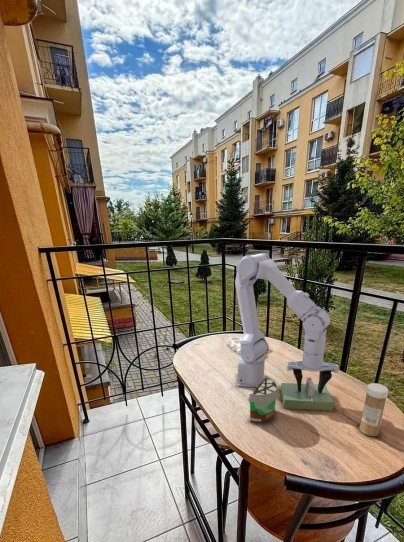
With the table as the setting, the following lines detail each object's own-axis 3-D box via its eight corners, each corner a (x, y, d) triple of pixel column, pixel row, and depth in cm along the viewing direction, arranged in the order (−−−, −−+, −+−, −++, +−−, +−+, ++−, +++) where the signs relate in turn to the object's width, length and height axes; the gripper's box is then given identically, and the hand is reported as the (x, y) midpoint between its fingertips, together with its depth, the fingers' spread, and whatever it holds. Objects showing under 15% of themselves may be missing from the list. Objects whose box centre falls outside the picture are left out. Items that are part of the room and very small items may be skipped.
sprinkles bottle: (382, 432, 74) (392, 388, 69) (373, 439, 71) (383, 394, 67) (364, 423, 77) (373, 380, 72) (355, 429, 75) (363, 386, 70)
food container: (269, 432, 75) (271, 400, 72) (248, 425, 79) (248, 394, 75) (283, 408, 85) (285, 379, 82) (263, 402, 88) (265, 374, 85)
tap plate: (283, 408, 85) (284, 399, 84) (280, 390, 94) (281, 382, 93) (332, 411, 83) (334, 402, 82) (324, 392, 92) (325, 384, 91)
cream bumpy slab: (272, 351, 124) (246, 360, 117) (246, 339, 138) (222, 346, 132) (272, 344, 123) (246, 352, 116) (246, 333, 137) (221, 339, 130)
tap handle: (313, 396, 85) (314, 385, 83) (308, 396, 85) (309, 385, 84) (310, 387, 90) (311, 377, 88) (305, 387, 90) (306, 376, 88)
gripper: (336, 346, 85) (330, 385, 90) (286, 345, 87) (283, 383, 92) (343, 356, 78) (336, 397, 83) (289, 354, 81) (286, 394, 86)
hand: (309, 391), depth 87 cm, fingers open, 5 cm apart
